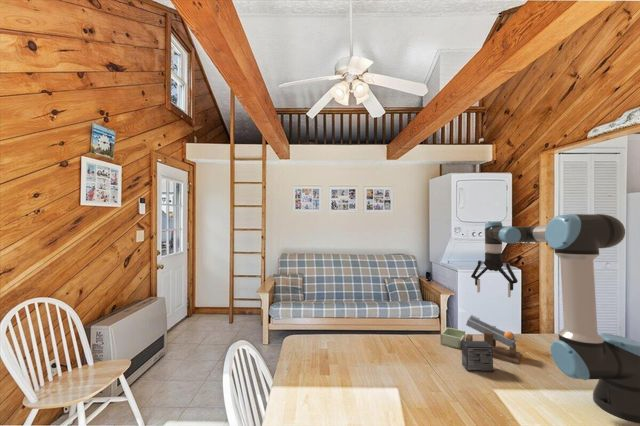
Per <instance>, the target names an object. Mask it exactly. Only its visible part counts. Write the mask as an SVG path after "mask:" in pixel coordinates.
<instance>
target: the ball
mask: <svg viewBox="0 0 640 426" xmlns="http://www.w3.org/2000/svg"><path fill="white" fill-rule="evenodd" d="M504 332H505V333H504V337H505V338H508V339H510V340H514V337H515V334H514V333H513V332H512V331H510V330H509V331H504Z"/></svg>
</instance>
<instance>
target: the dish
mask: <svg viewBox="0 0 640 426" xmlns="http://www.w3.org/2000/svg"><path fill="white" fill-rule="evenodd" d="M462 341H466V331H465V330H461V329H457V328H452V327H447V326H446V327H445V328H444V329H443V331H442V332H441V333H440V346H441V345H442V346H445V347H449V348H454V349H458V350H461V347H462Z"/></svg>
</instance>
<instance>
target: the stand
mask: <svg viewBox="0 0 640 426" xmlns="http://www.w3.org/2000/svg"><path fill="white" fill-rule="evenodd" d="M492 326H493V327H495V328H497V326H495V325H492ZM473 337H474V336H473V334H469V333H468V334H467V335H465V341H474V339H473ZM483 337H484V338H483V341H487V342H488V343H489V344H490V345H491V346H492V347H493V359H498V360H502V361H506V362H510V363H514V364H519V363H520V358H521V352H519V351H517V344H516V343H515V344H514V347H513V348H511V347H509V349H507V348H503V347H498V346H497V340H495V339H493V333H490V332H484V334H483ZM460 350H461V351H462V347H461V349H460Z"/></svg>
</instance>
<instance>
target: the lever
mask: <svg viewBox="0 0 640 426" xmlns="http://www.w3.org/2000/svg"><path fill="white" fill-rule="evenodd" d="M466 326H467V327H469V328H471V329H473V330H475V331H477V332H479V333H481V334H483V335H484V332H490V333H493V339H495V340H496V342H499V343H501V344H503V345H504V346H507V347H509V348H510V347H511V348H513V347H514V344H516V342H517V339H518V334H517V333H515V334H514V340H510V339H508V338H505V337H504V333H505V332H506V331H504V330H501V329H499V328H498V327H496V328H495V327H493V326H494V325H491V324H489V323H487V322H484V321H483V320H481V319H480V317H477V316H475V315H473V314H471V315H470V316H469V317H468V319H467V321H466Z"/></svg>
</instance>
